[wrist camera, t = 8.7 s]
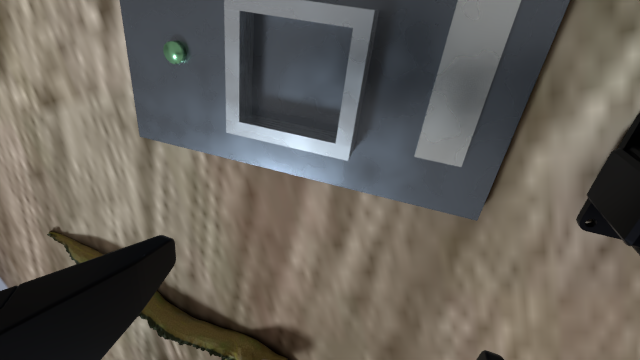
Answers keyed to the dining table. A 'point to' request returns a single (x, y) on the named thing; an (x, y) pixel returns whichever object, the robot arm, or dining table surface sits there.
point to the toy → (183, 320)
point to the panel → (344, 87)
